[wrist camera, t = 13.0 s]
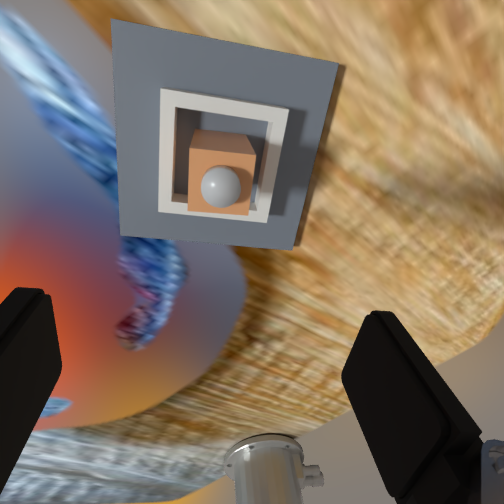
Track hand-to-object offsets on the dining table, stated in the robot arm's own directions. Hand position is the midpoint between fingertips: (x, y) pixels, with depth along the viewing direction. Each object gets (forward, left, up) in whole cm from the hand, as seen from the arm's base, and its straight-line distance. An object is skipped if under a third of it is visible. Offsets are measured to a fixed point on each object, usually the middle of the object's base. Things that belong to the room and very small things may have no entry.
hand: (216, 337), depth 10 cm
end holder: (0, -1, -21) cm, 21 cm away
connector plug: (0, -1, -20) cm, 20 cm away
